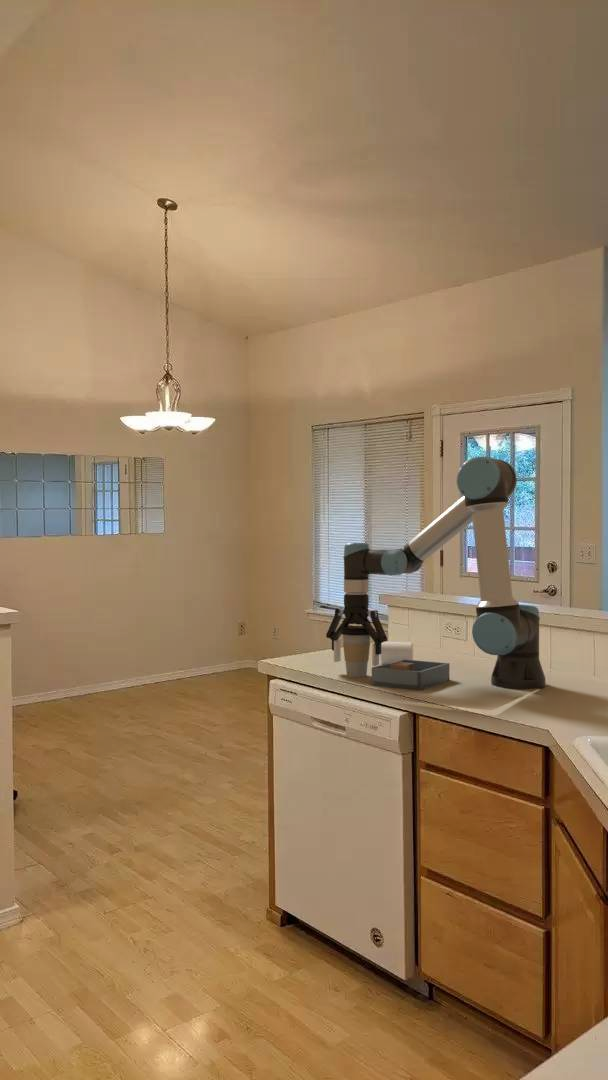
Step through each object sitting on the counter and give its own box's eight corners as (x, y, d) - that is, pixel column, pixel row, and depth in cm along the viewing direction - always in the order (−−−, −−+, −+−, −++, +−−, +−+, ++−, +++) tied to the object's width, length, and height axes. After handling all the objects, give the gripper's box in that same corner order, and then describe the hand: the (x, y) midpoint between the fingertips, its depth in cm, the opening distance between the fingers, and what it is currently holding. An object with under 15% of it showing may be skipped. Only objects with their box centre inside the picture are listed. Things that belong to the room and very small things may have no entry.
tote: (449, 680, 252) (449, 663, 252) (419, 690, 235) (419, 672, 235) (403, 675, 260) (403, 659, 260) (371, 685, 244) (371, 667, 244)
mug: (411, 668, 274) (411, 643, 274) (380, 667, 276) (380, 643, 276) (414, 663, 286) (414, 639, 286) (384, 662, 288) (384, 638, 288)
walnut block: (406, 683, 240) (406, 665, 240) (390, 681, 242) (390, 664, 242) (414, 680, 244) (414, 663, 244) (398, 679, 246) (398, 662, 246)
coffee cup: (370, 679, 254) (370, 628, 254) (339, 678, 255) (339, 628, 255) (373, 674, 263) (373, 625, 263) (342, 673, 265) (342, 625, 265)
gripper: (398, 594, 255) (398, 665, 255) (328, 591, 269) (328, 658, 269) (386, 595, 249) (386, 668, 249) (315, 592, 263) (315, 661, 263)
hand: (356, 663), depth 259 cm, fingers open, 13 cm apart
